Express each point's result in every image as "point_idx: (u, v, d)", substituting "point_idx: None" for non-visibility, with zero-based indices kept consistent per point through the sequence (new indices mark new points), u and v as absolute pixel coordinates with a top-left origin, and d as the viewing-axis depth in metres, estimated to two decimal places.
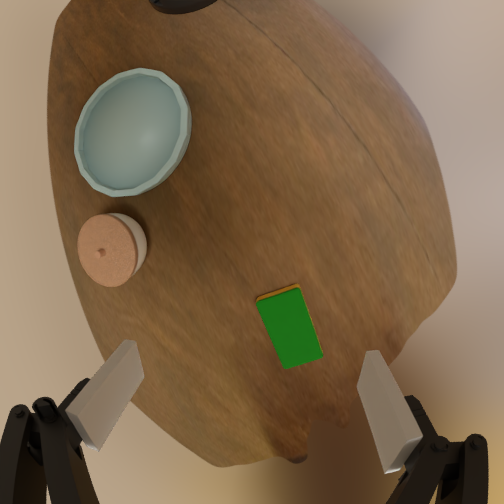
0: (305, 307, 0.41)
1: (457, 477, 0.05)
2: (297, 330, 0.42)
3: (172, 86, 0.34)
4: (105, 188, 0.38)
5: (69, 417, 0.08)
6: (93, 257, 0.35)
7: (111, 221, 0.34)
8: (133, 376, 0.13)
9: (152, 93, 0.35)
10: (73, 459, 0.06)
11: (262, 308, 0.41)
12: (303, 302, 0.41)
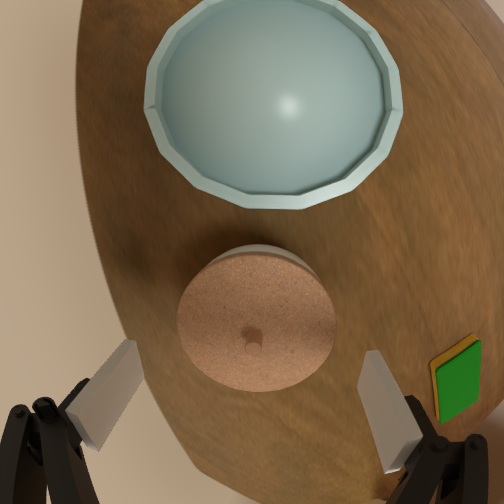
0: (479, 358, 0.23)
1: (456, 477, 0.05)
2: (466, 384, 0.24)
3: (365, 28, 0.15)
4: (226, 189, 0.20)
5: (69, 417, 0.08)
6: (224, 344, 0.17)
7: (288, 273, 0.16)
8: (133, 376, 0.13)
9: (318, 29, 0.17)
10: (73, 459, 0.06)
11: (442, 374, 0.24)
12: (479, 354, 0.23)
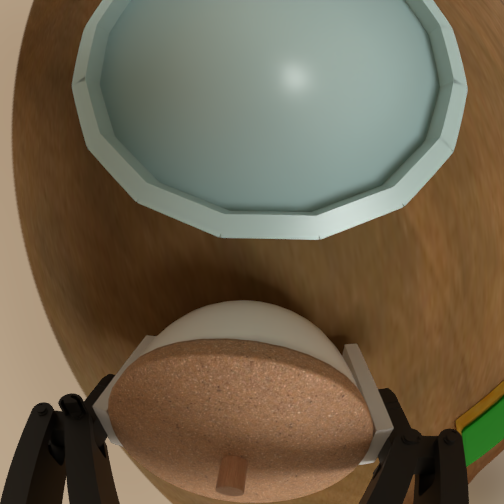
0: None
1: (433, 472, 0.06)
2: (494, 430, 0.15)
3: None
4: (186, 204, 0.11)
5: (96, 413, 0.09)
6: (187, 464, 0.08)
7: (297, 387, 0.07)
8: None
9: None
10: (97, 457, 0.07)
11: (468, 433, 0.15)
12: None
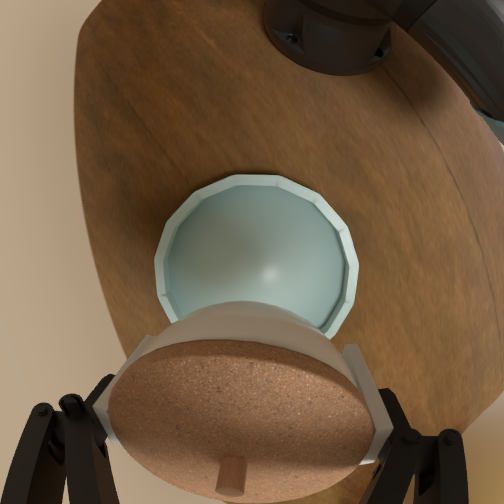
0: None
1: (433, 472, 0.06)
2: None
3: (338, 226, 0.26)
4: None
5: (96, 413, 0.09)
6: (187, 465, 0.08)
7: (297, 388, 0.07)
8: None
9: (296, 223, 0.27)
10: (97, 457, 0.07)
11: None
12: None
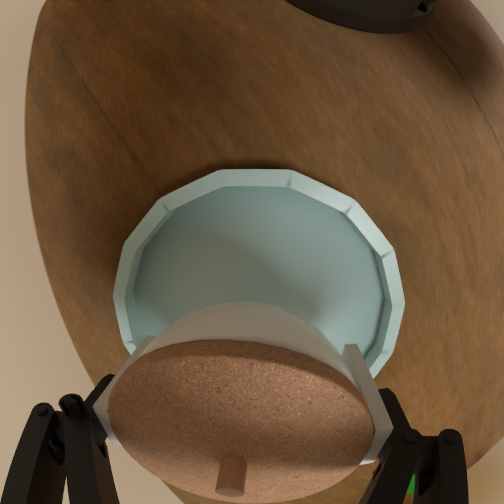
0: None
1: (433, 472, 0.06)
2: None
3: (380, 249, 0.16)
4: None
5: (96, 413, 0.09)
6: (187, 465, 0.08)
7: (297, 389, 0.07)
8: None
9: (318, 244, 0.18)
10: (97, 457, 0.07)
11: None
12: None
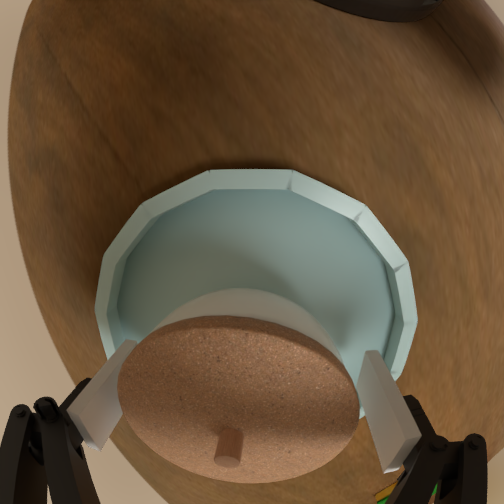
0: None
1: (455, 477, 0.06)
2: None
3: (393, 262, 0.14)
4: None
5: (70, 417, 0.08)
6: (188, 439, 0.10)
7: (287, 358, 0.08)
8: None
9: (322, 255, 0.15)
10: (74, 459, 0.06)
11: (384, 502, 0.23)
12: None
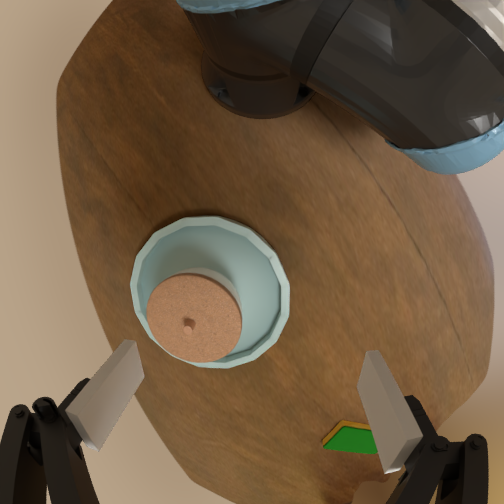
0: (357, 430, 0.39)
1: (456, 477, 0.05)
2: (364, 439, 0.40)
3: (267, 254, 0.32)
4: None
5: (69, 417, 0.08)
6: (174, 329, 0.28)
7: (205, 285, 0.27)
8: (133, 376, 0.13)
9: (236, 252, 0.34)
10: (73, 459, 0.06)
11: (330, 447, 0.40)
12: (354, 429, 0.39)
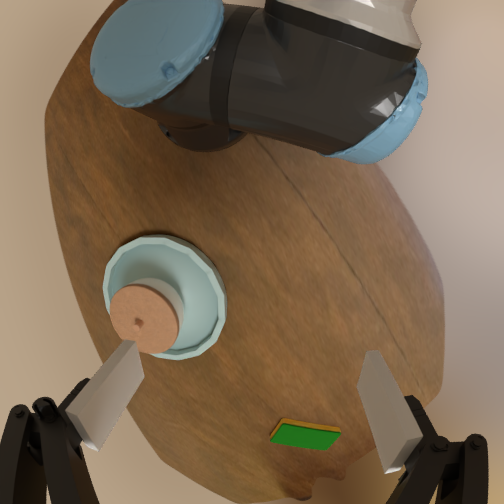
0: (298, 427, 0.46)
1: (457, 477, 0.05)
2: (307, 436, 0.47)
3: (205, 270, 0.39)
4: None
5: (69, 417, 0.08)
6: (129, 326, 0.35)
7: (149, 294, 0.33)
8: (133, 376, 0.13)
9: (182, 266, 0.40)
10: (73, 459, 0.06)
11: (276, 441, 0.48)
12: (293, 427, 0.46)
